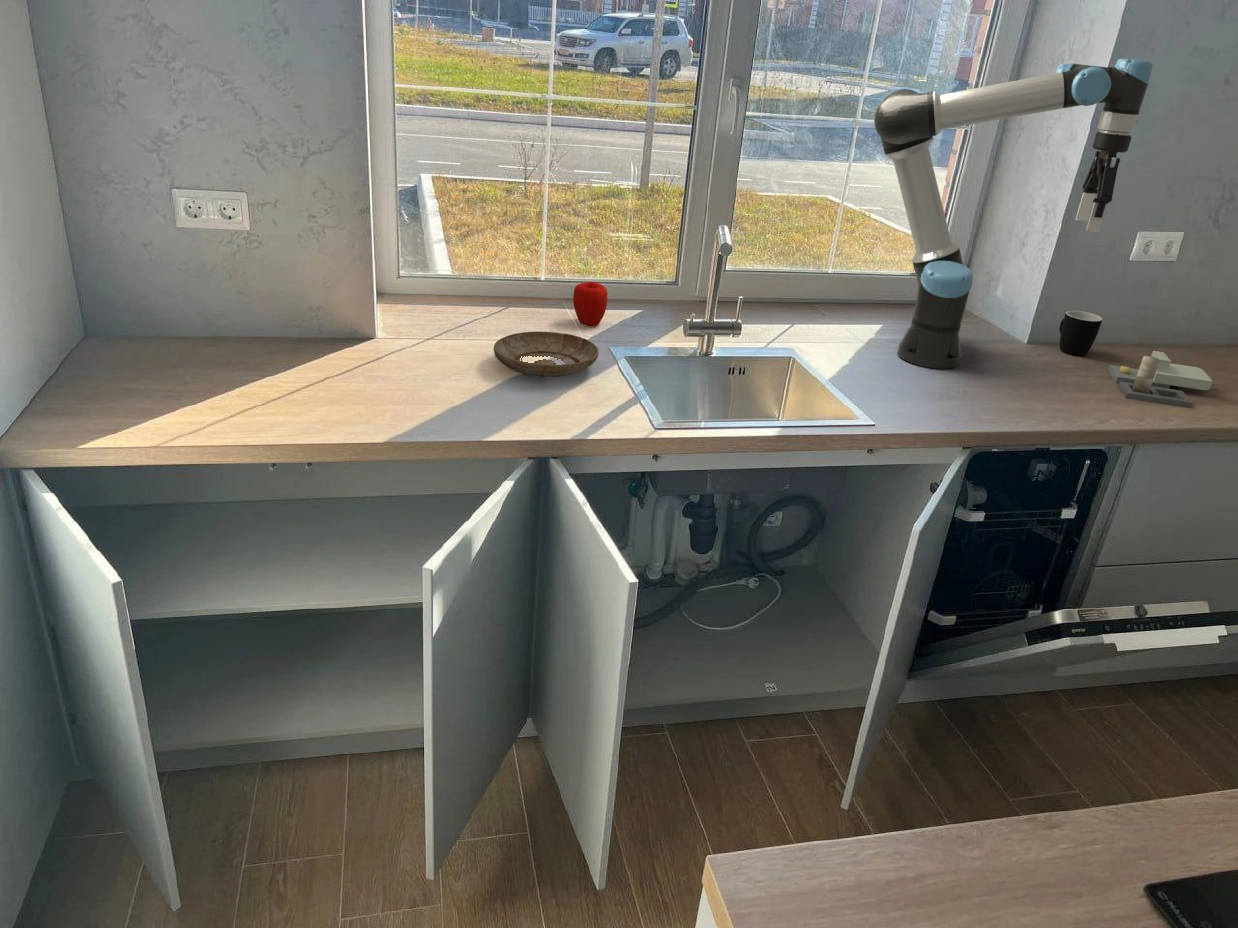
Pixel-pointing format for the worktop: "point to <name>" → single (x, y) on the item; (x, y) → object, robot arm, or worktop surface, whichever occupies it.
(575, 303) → the apple
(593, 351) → the brown round shallow bowl
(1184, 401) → the socket board
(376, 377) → the worktop surface
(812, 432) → the worktop surface
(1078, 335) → the mug
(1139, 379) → the pin
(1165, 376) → the cover
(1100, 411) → the worktop surface
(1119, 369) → the board
